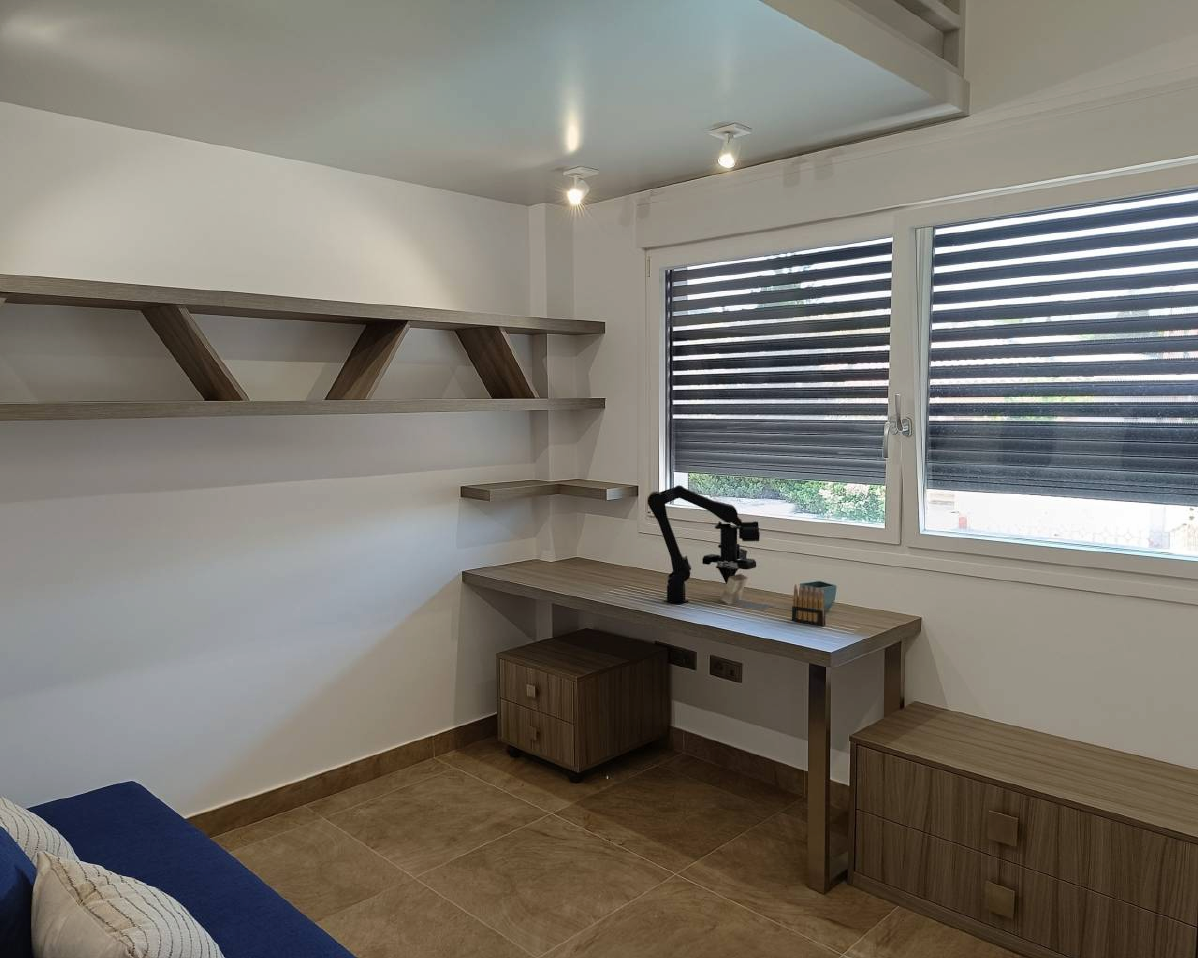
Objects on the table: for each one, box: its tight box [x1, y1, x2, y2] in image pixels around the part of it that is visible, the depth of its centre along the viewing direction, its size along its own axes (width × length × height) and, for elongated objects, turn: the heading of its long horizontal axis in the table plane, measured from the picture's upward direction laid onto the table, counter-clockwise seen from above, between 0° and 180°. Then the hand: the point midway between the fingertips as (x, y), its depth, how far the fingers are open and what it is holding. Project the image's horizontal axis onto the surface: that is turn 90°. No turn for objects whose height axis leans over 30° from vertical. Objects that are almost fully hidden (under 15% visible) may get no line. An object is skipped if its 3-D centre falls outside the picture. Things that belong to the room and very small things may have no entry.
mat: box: [715, 599, 774, 611], centre depth 312 cm, size 8×18×1 cm, turn 48°
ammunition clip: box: [791, 583, 826, 628], centre depth 285 cm, size 11×2×12 cm, turn 51°
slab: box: [720, 573, 748, 605], centre depth 314 cm, size 7×3×9 cm, turn 138°
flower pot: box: [799, 580, 838, 613], centre depth 302 cm, size 9×9×9 cm
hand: (728, 586), depth 316 cm, fingers closed
